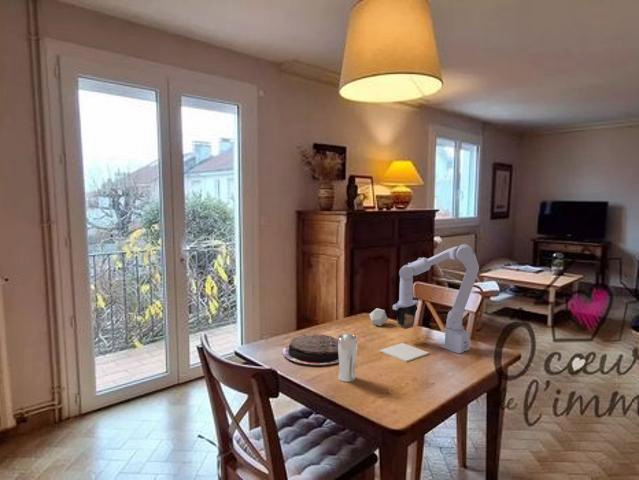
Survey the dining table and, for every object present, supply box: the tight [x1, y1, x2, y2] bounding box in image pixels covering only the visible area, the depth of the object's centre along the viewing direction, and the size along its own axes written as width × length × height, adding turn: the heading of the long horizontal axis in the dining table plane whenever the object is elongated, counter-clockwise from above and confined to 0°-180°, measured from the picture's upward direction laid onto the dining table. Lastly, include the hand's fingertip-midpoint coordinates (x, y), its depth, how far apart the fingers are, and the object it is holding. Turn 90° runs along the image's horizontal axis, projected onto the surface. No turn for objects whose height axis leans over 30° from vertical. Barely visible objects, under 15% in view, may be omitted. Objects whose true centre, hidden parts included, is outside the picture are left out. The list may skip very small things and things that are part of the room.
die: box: [369, 307, 389, 327], centre depth 209 cm, size 8×9×10 cm
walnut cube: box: [396, 313, 415, 330], centre depth 184 cm, size 5×5×5 cm
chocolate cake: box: [282, 333, 339, 368], centre depth 170 cm, size 28×28×7 cm
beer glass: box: [337, 333, 358, 383], centre depth 146 cm, size 7×7×15 cm
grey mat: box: [379, 342, 430, 363], centre depth 172 cm, size 14×14×1 cm
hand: (405, 323), depth 184 cm, fingers closed on walnut cube, 5 cm apart
